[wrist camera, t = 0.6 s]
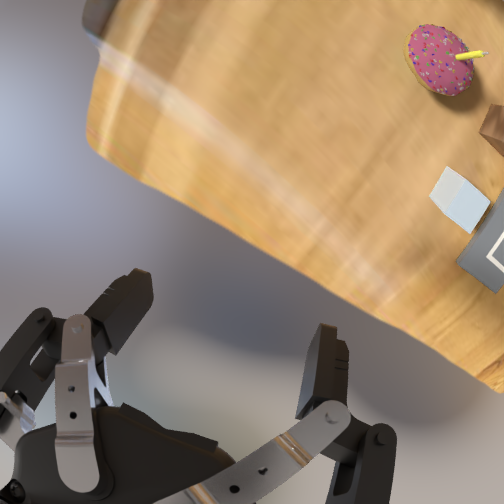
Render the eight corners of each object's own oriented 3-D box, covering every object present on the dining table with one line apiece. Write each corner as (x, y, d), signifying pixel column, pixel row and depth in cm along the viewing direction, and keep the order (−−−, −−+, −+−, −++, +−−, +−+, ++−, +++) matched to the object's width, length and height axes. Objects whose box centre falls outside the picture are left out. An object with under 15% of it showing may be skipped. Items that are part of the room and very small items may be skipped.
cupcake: (444, 32, 19) (488, 12, 9) (463, 93, 22) (515, 98, 12) (385, 35, 22) (413, 7, 12) (407, 99, 25) (446, 100, 15)
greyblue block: (446, 165, 28) (465, 178, 23) (470, 185, 28) (490, 201, 23) (428, 196, 31) (444, 213, 26) (453, 214, 31) (469, 234, 26)
